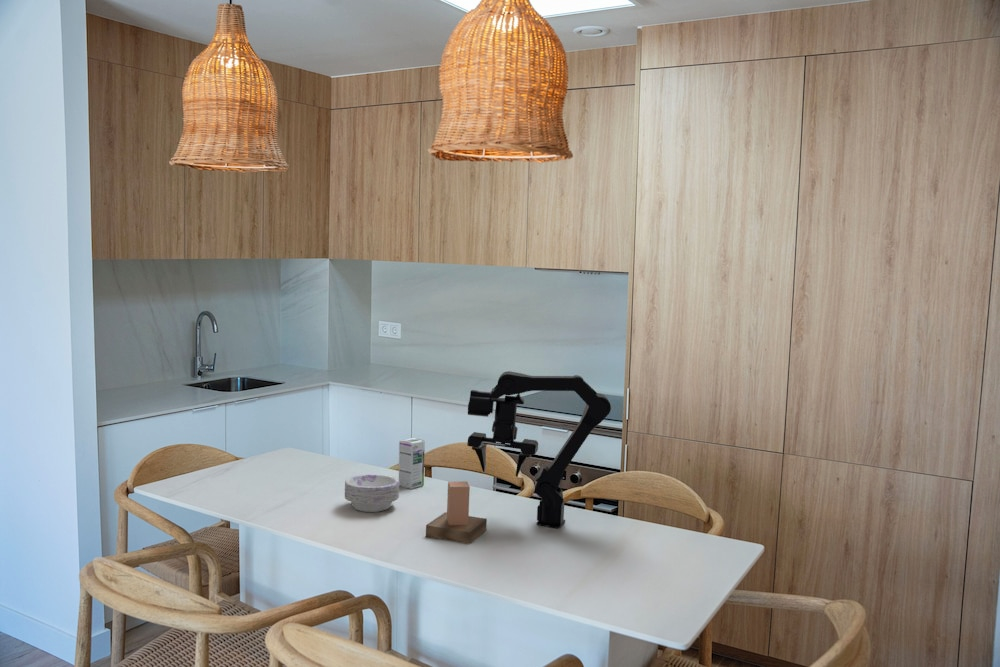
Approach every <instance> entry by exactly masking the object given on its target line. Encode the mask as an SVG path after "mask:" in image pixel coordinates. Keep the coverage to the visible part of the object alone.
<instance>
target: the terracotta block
mask: <svg viewBox="0 0 1000 667" xmlns="http://www.w3.org/2000/svg"><path fill="white" fill-rule="evenodd" d="M470 488H471V487H470V485H469V482H468V481H466V480H465V481H447V498H446V500H447V501H446V502H447V504H446V512H447V521H448V524H449V525H468V517H469V516H470V515H469V512H470V490H471V489H470Z"/></svg>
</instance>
